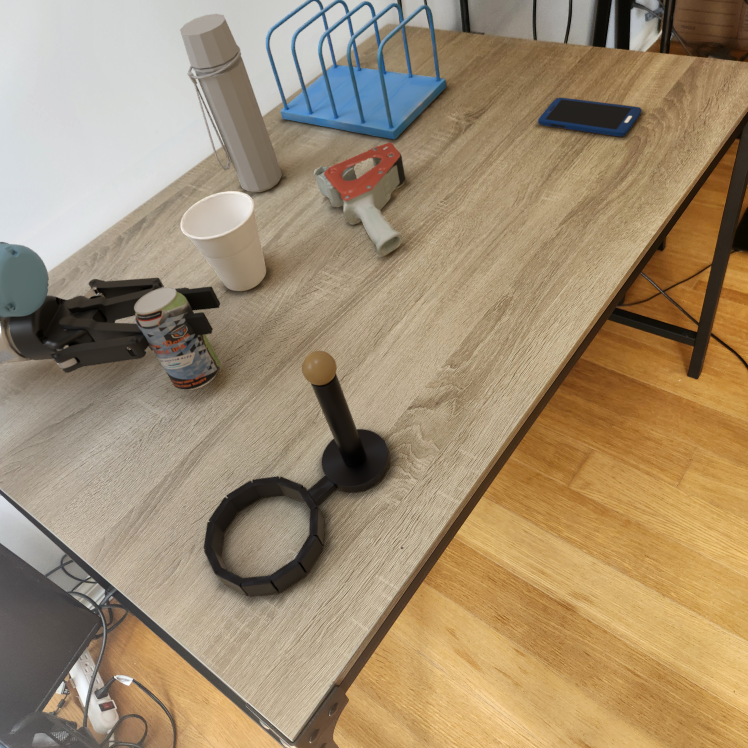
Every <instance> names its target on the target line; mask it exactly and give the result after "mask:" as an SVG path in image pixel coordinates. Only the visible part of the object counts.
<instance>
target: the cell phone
mask: <svg viewBox="0 0 748 748" xmlns="http://www.w3.org/2000/svg"><path fill="white" fill-rule="evenodd" d="M641 114H642V108H641V106H640V107H639V106H633V105H626V104H625V105H624V104H616V103H609V102H600V101H593V100H585V99H577V98H569V97H557V98H555V99H554V100H553V101H552V102H551V103H550V104H549V105H548V106H547V108H546V109H545V110H544V111H543V113H542V114H541V115H540V116H539V118H538V120H537V122H538V124H539V125H541V126H544V127H549V128H550V127H551V128H557V129H564V130H572V131H577V132H578V131H579V132H585V133H591V134H599V135H605V136H612V137H620V138H622V137H625V136H627V134H629V132H630V130H632V128H633V126H634V125H635V123H636V122H637V120H638V119H639V118H640V116H641Z"/></svg>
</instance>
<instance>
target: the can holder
mask: <svg viewBox="0 0 748 748" xmlns="http://www.w3.org/2000/svg"><path fill="white" fill-rule="evenodd" d="M337 368H338V367H337V363H336V360H335V358H334V356H333V355H331V354H330V353H329V352H327V351H324V350H314V351H311V352H310V353H308V354H307V355H306V356H305V358H304V359H303V361H302V364H301V372H302V376H303V377H304V379H305V380H306V381H307V382H308V383H310V386H311V387H312V390H313V392H314V395H315V398H316V400H317V402H318V404H319V406H320V409H321V412H322V413H323V417H324V418H325V421H326V423H327V426H328V427H329V430H330V433H331V435H332V437H333V439H331V440H330V441H329V442H328V444H327V445H326V446H325V448H324V450H323V453H322V456H321V469H322V471H323V473H324V476H322V477H321V478H320V479H319V480H318V481H317V482H315V484H313V485H312V486H311V487H310V488H309V489H307V487H306V486H304V485H303V484H301V483H298V482H296V481H294V480H291V479H289V478H286V477H283V476H279V475H277V476H269V477H262V478H253V479H252V480H249V481H247V482H245V483H244V484H242V485H240V486H239V487H237V488H236V489H234V490H233V491H232V490H231V492H229V493H227V494H226V495H225V497H223V499H222V500H221V501H220V503H219V504H218V505H217V506H216V509H215V510H214V511H213V513H212V514H211V516H210V517H209V518H208V521H207V523H206V529H205V536H204V542H203V553H204V554H205V556H206V559H207V561H208V563H209V565H210V567H211V570H212V572H213V573H214V574H215V575H216V577H217V578H218V579H219V580H220V581H221V582H222V583H223V584H224V585H225V586H227V587H228V588H230V589H232V590H234V591H236V592H238V593H240V594H242V595H244V596H246V597H251V598H252V597H259V596H262V597H263V596H269V595H279V593H281V594H282V593H283V592H285V591H286V590H288V589H289V588H290V587H293V586H294V585H295V584H297V583H298V582H300V581H301V580H303V579H304V578H305V577H307V574H308V575H309V574H310V572H311V570H312V568H313V567H314V565H315V563H316V562H317V560H318V558H319V556H320V555H321V553H322V551H323V550H324V546H325V519H324V515H323V513H322V512H321V510H320V508H319V505H320V504H322V503H323V502H324V501H325V500H326V499H327V498H329V497H330V496H331V495H332V494H333V493H335V492H336V491H337V490H339V491H341V492H345V493H360V492H364V491H367V490H370V489H372V488H374V487H375V486H376V485H378V484H379V483H380V482H381V481H382V480H383V479H384V477H385V476H386V474H387V473H388V471H389V468H390V464H391V456H390V452H389V449H388V446H387V443H386V442H385V440H384V439H383V437H381V435H379V433H376V432H374V431H372V430H370V429H364V428H357V426H356V424H355V420H354V418H353V416H352V413H351V410H350V407H349V404H348V402H347V399H346V396H345V393H344V391H343V388H342V386H341V383H340V380H339V378H338V375H337ZM278 496H286V497H288V498H291V499H294V500H296V501H298V502H301V503H303V504H304V505H305V506H306V508H307V509H308V511H309V531H308V536H307V538H306V540H305V541H304V543H303V544H302V546H301V548H300V549H299V551H298V552H297V554H296V556H295V558H294V559H292V560H291V561H289V562H288V563H286V564H285V565H283V566H282V567H280V568H278V569H276V571H274V572H272V573H271V574H267V575H258V576H251V577H249V576H248V577H242V576H240V575H238V574H236V573H234V572H232V571H230V570H228V569H227V567H226V565H225V563H224V561H223V559H222V552H223V543H224V537H225V533H226V531H227V529H228V528H229V526H231V524H232V522H233V521H234V519H235V518H236V516H237V515H238V513H239V512H241V511H243V510H244V509H245V508H247V507H249V506H250V505H252V504H254V503H255V502H257V501H259V500H260V499H263V498H272V497H278Z"/></svg>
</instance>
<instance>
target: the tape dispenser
mask: <svg viewBox="0 0 748 748" xmlns="http://www.w3.org/2000/svg"><path fill="white" fill-rule="evenodd" d="M369 159H372V163H373V167H372V168H371V169H369V170H368V171H366V172H364V173H363V174H362V175H361V176H359V177H358V178H357V175H356V171H355V166H356V165H357V164H359V163H361V162H364V161H367V160H369ZM313 176H314V178H315V181H316V184H317V186H318V189H319V191H320V193H321V195H322V196H323V197H327V198H328V200H329V201H330V206H331V207H333V208H338V207H342V209H343V210H342V212H343V216H344V219H345V222H346V223H349V224H350V225H353V226H354V225H357V224H359V223H361V224H363V227H364V230H365V232H366V233H367V235H368V237H369V238H370V240H371V241H372V243H373V244H374V245H375V252H376V255H377V256H378V257H385V256H387V255H388V254H390V253H391V252H394V251H395V250H397V249H398V248H399V247H400V245H401V244H402V241H403V235H402V233H401V232H400V231H397V230H395V229H394V228H393V225H392V223H390V222H388V220H387V218H386V217H385V216H384V215H383V213H382V211H381V210H382V209H383V208H384V207H385V206H386V204H387V203H388V202H389V201H390V200H391V198H392V195H391V194H392V193H393V192H394V191H395V190H397V189H400V188H401V187H403V186H404V184H405V180H406V175H405V167H404V162H403V157H402V154H401V152H400V151H399V150H398V149H397V148H396V146H395V145H394V143H392V142H390V141H389V142H387V143H384V144H381V145H377V146H373V147H371V149H368V150H367V151H364V152H361V153H359V154H357V155H354V156H352V157H349V158H347V159H345V160H343V161H341V162H338V163H335V164H333V165H331V166H327V165H326V166H321V165H319V166H318V167H317V168H315V169H314V171H313Z"/></svg>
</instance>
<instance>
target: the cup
mask: <svg viewBox="0 0 748 748" xmlns="http://www.w3.org/2000/svg"><path fill="white" fill-rule="evenodd" d="M255 208H256V206H255V201H254V199H253V198H252V196H250V195H249V194H247V193H245V192H242V191H238V190H237V191H236V190H229V191H228V190H227V191H226V190H225V191H222V192H221V191H220V192H217V193H213V194H210V195H208V196H206V197H203V198H202V199H200V200H198V201H196V202H195V203H194V204H192V205H191V206H190V207H189V208H188V209H187V210H186V211H185V212H184V214H183V215H182V216H181V219H180V230H181V232H182V234H184V236H185V237H187V238H188V239H189V240H190V241H191V243H192V244H193V245H194V246H195V248H196V250H197V251H198V252H199V253H200V254H201V256H202V257H203V259H205V260H206V262H207V263H208V265H209V266H210V268H211V269H212V270H213V271H214V273H215V274H216V275H217V277H218V278H219V279H220V281H221V282H222V283H223V285H224V286H225V287H226V288H227V289H228V290H231V291H234V292H244V291H249V290H251V289H253V288H255V287H257V286H259V284H260V283H261V282H262V281H263V280H264V278H265V276H266V274H267V267H266V263H265V257H264V254H263V248H262V242H261V237H260V233H259V228H258V227H259V226H258V221H257V217H256V213H255Z"/></svg>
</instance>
